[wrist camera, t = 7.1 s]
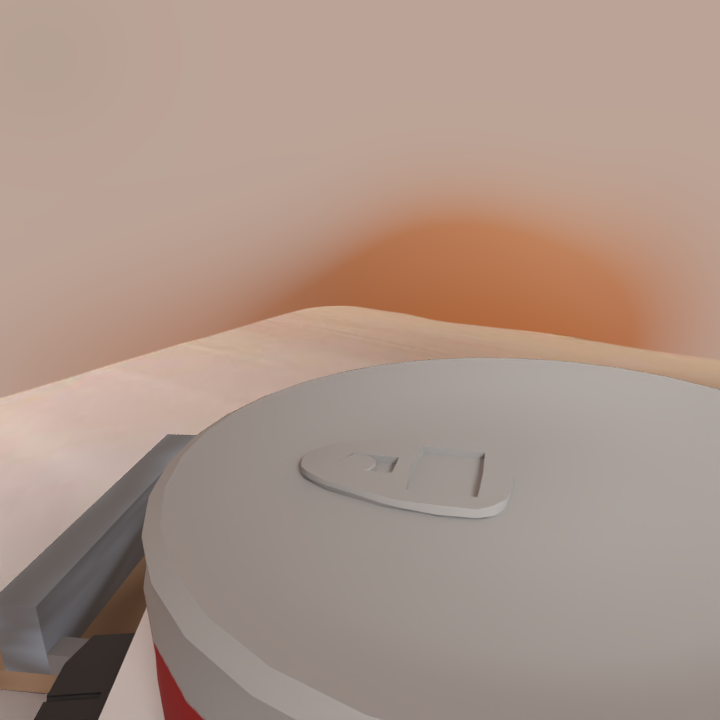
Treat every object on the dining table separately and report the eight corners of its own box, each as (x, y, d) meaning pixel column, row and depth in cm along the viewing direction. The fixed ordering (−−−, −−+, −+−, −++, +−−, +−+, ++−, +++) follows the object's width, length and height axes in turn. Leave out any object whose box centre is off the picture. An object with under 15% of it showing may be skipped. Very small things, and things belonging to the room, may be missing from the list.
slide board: (571, 511, 36) (577, 446, 35) (664, 752, 21) (680, 654, 20) (154, 492, 40) (145, 433, 39) (-23, 686, 25) (-46, 600, 24)
